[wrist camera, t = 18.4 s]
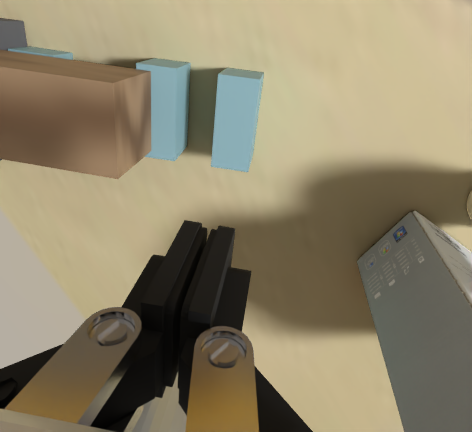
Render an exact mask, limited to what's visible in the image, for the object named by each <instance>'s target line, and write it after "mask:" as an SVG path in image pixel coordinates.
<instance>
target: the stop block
mask: <svg viewBox="0 0 472 432" xmlns="http://www.w3.org/2000/svg"><path fill="white" fill-rule="evenodd" d="M20 47H27V41H26V35H25V28H24V22H23V21H19V20H12V19H4V18H0V50H6V51H8V49H9V48H20ZM0 160H2V159H0Z"/></svg>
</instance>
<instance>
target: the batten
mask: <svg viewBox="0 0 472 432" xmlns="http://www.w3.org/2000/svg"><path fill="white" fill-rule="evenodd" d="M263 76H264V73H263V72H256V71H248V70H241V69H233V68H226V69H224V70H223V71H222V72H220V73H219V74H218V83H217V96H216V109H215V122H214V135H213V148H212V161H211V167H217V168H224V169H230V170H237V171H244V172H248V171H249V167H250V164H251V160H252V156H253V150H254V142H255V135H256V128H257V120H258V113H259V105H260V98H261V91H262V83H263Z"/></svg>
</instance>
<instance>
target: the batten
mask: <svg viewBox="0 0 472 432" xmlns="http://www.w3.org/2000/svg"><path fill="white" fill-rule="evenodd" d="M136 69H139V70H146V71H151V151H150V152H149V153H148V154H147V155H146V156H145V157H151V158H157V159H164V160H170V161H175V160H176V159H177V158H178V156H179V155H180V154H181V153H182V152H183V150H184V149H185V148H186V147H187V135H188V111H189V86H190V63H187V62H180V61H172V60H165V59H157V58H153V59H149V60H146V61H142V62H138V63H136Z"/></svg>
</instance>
